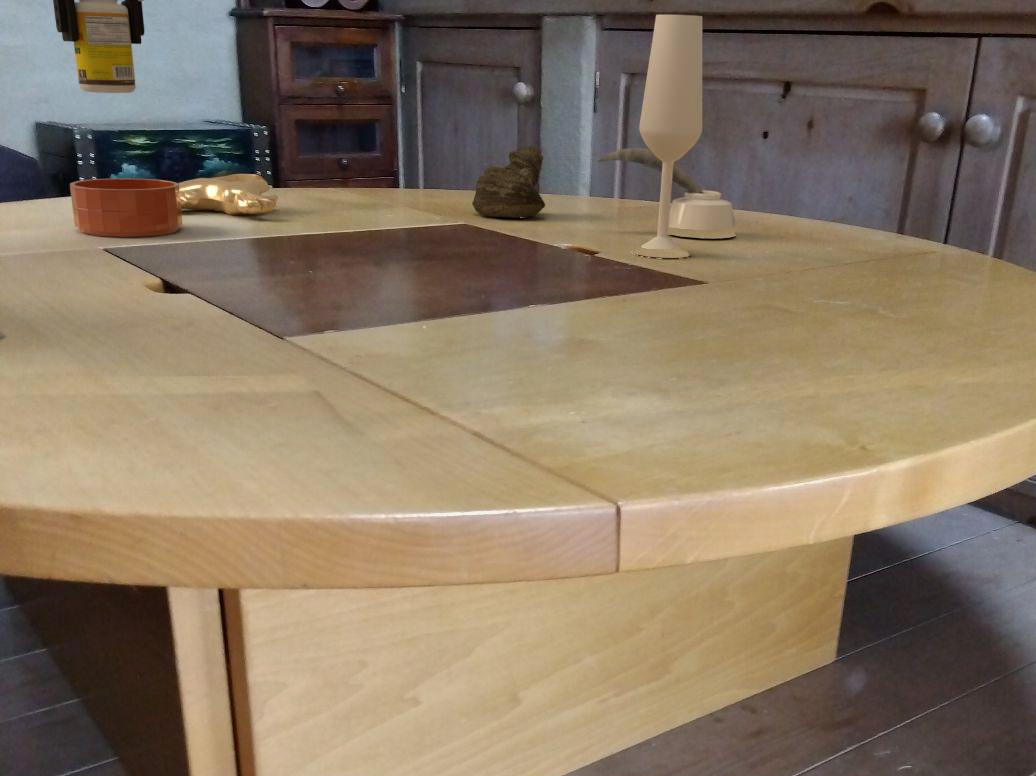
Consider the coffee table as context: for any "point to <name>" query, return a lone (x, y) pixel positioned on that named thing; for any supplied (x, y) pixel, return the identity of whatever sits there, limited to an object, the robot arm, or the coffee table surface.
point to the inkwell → (697, 204)
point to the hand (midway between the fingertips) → (102, 40)
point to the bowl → (126, 207)
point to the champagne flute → (672, 104)
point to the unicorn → (227, 194)
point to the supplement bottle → (104, 47)
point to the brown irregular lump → (511, 187)
